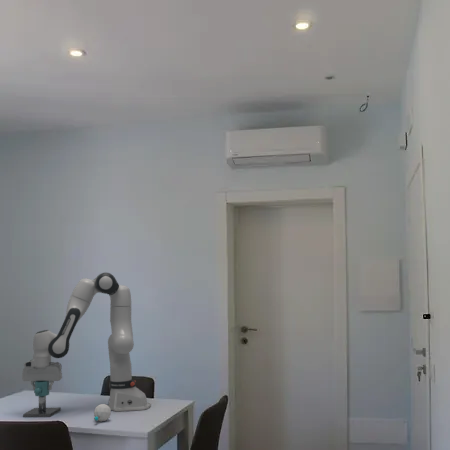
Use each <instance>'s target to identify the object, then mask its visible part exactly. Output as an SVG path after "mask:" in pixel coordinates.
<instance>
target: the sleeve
mask: <svg viewBox="0 0 450 450" xmlns="http://www.w3.org/2000/svg"><path fill="white" fill-rule="evenodd" d="M34 384H35V390H33V391H34V396H35V397H39V396H46V397H47V396H49V395H50V390H48V388H47V387H48V386H49V385H50V383H49V381H35V383H34Z"/></svg>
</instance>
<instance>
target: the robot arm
mask: <svg viewBox="0 0 450 450" xmlns="http://www.w3.org/2000/svg"><path fill="white" fill-rule="evenodd" d="M98 293H99V294H100V293H101V294H105V295H106V294H107V295H108V296H109V299H110V303H109V304H110V311H109V313H110V314H109V315H110V317H109V318H110V319H109V322H110V328H111V334H110V335H109V337H108V339H107V347H108V348H107V349H108V356H109V357H108V358H109V359H108V360H109V369H110V370H109V371H110V374H109V375H110V378H109V379H110V380H109V385H108V386H109V387H108V388H109V389H108V390H109V400H108V406H109V407H110V409H111V411H114V412H129V411H131V412H132V411H145V410H147V409H150V408H151V407H152V403H151V402H148V400H147V399H148V398H147V396H146V393H145V392H143V391H142V390H141V389H140V388H138V387H137V386H136V382H137V381H136V380H134V379H133V378H132V362H131V355H130V353H131V352H132V351H133V349H134V346H135V345H134V344H135V343H134V335H133V333H134V332H133V326H132V325H133V323H132V296H131V295H132V294H131V290H130V287H128V286H127V285H124V284H119V283H118V280H117V279H116V277H115V276H114V275H113V274H112V273H110V272H106V271H105V272H100V273H99V274H98V275H97V276H96V277H95V278H93V279H90V278H86V277H85V278H81V279H80V280H79V281H78V282H77V284H76V285H75V287H74V289H73V290H72V292H71V294H70V297H69V299H68V302H67V306H66V310H65V311H66V313H65V316H64V320H63V322H62V325H61V326H60V329H59V331H58V333H57V334H56V333H55V332H52V331H51V330H49V329H44V330H40V331H37V332H36V333H34V335H33V341H32V342H33V343H32V350H33V356H32V359H29V360H28V361H25V362H24V363H23V368H22V375H21V378H22V381H23V382H30V385H31V386H32V390H33V391H34V390H35V381H49V386H48V387H47V388H48V390H49V391H51V390H52V389H53V388H52V386H53V384H55V383H54V382H58V381H59V382H60V381H61V380H62V379H63V373H62V364H61V363H60V362H58V361H56V362H54V361H52V357H53V358H55V359H61V358H64V357H65V356H66V355H67V354H68V353H69V350H70V349H69V348H70V339H71V337H72V335H73V333H74V330H75V329H76V326H77V323H79V321H80V320H81V318H82V317H83V316H84V315H85V314H86V312H87V311H88V310H89V307H90V305H91V303H92V300H93V299H94V296H96V295H97V294H98Z"/></svg>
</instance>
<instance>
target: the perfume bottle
mask: <svg viewBox="0 0 450 450" xmlns="http://www.w3.org/2000/svg"><path fill="white" fill-rule="evenodd" d="M108 405H109V404H108ZM108 405H107V404H105V403H101V404H99V405H97V406H96V407H95V408H94V412H93V420H94V421H95V422H97V421H98V422H102V421H103V422H106V421H107V420H109V419H110V418H111V415H112V410H111V409H110V407H109V406H108Z"/></svg>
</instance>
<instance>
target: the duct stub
mask: <svg viewBox="0 0 450 450" xmlns="http://www.w3.org/2000/svg"><path fill="white" fill-rule="evenodd" d="M61 410H62V409H61V407H47V396H38V407H34V408H32V409H31V410H28V411H27V412H24V413H23V415H22V417H23V418H50V417H52V416H54V415H56V414H57V413H60V411H61Z"/></svg>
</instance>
